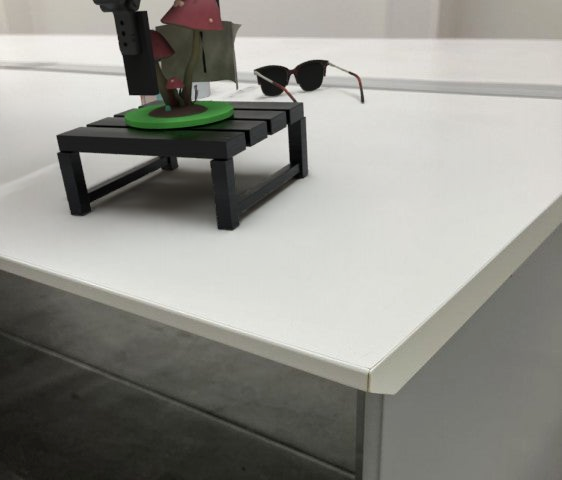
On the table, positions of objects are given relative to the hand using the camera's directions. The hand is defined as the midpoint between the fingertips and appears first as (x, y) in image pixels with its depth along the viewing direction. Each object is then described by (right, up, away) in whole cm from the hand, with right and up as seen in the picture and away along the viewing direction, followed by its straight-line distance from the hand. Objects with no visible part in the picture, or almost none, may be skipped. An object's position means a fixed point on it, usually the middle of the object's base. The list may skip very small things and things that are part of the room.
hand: (181, 83), depth 65 cm
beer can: (-8, +8, +35) cm, 37 cm away
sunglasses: (+15, +17, +47) cm, 52 cm away
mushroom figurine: (0, -3, +2) cm, 3 cm away
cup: (-6, +17, +50) cm, 53 cm away
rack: (+1, -9, +6) cm, 11 cm away
